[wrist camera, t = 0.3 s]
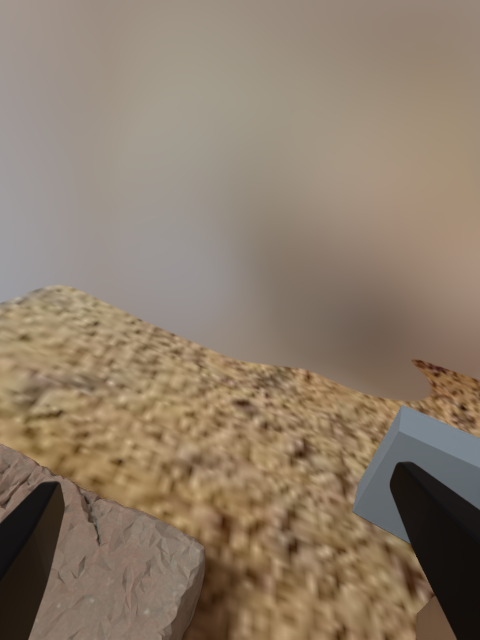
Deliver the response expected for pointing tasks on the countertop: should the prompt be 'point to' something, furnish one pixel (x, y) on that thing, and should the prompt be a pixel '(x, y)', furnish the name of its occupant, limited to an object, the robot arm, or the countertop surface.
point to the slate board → (428, 453)
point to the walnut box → (433, 623)
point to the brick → (108, 565)
